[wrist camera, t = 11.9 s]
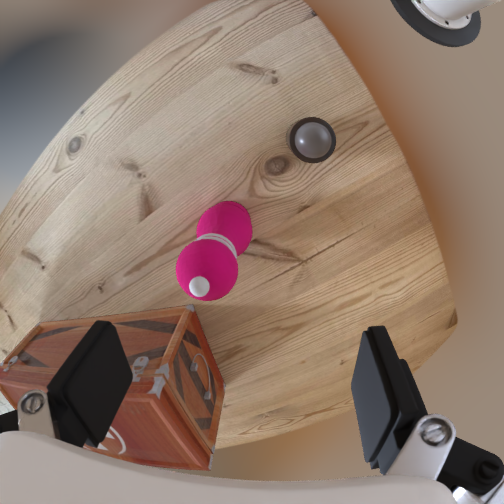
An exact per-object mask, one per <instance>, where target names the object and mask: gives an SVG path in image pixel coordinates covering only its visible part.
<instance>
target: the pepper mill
mask: <svg viewBox="0 0 504 504" xmlns="http://www.w3.org/2000/svg"><path fill="white" fill-rule="evenodd" d="M251 238H252V225H251V220H250V216H249V213H248V212H247V210H246V209H245V208H244V207H243V206H242V205H241V204H239V203H237V202H233V201H224V202H220V203H218V204H216V205H215V206H213V207H211V208H209V209H208V210H207V211H205V212H204V214H203V215H202V216H201V218H200V220H199V222H198V225H197V239H196V240H195V241H194V242H192V243H190V244H189V245H188V246H186V247H185V248H184V249H183V250H182V252H181V253H180V255H179V257H178V260H177V263H176V276H177V280H178V282H179V284H180V286H181V288H182V289H183V290H184V291H185V292H186V293H187V294H188V295H189V296H191V297H193V298H195V299H198V300H202V301H212V300H217V299H220V298H222V297H223V296H225V295H226V294H228V293H229V291H230V290H231V289H232V288H233V286H234V284H235V282H236V280H237V276H238V264H237V256H239V255H240V254H242V253H243V252H244V251H245V250H246V249H247V247H248V246H249V243H250V241H251Z"/></svg>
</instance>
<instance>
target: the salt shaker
mask: <svg viewBox="0 0 504 504" xmlns="http://www.w3.org/2000/svg"><path fill="white" fill-rule="evenodd" d="M286 142H287V145H288V147H289V149H290V150H291V151H292V152H293V153H294V154H295V156H296V157H298V158H299V159H300V160H302V161H304V162H307V163H319V162H322V161H324V160H326V159H327V158H329V157H330V155H331V154H332V153H333V151H334V149H335V145H336V137H335V133H334V131H333V129H332V127H331V126H330V125H329V124H328V123H327V122H326V121H324V120H322V119H320V118H316V117H308V118H304V119H301V120H299V121H297V122H295V123H293V124H292V125H291V126H290V127H289V129H288V131H287V133H286Z"/></svg>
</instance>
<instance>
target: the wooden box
mask: <svg viewBox="0 0 504 504" xmlns="http://www.w3.org/2000/svg"><path fill="white" fill-rule="evenodd" d="M97 320H103V321H110V322H111V323H112V324H113V325H114V326H115V327H116V329H117V332H118V335H119V338H120V341H121V344H122V347H123V349H124V352H125V355H126V357H127V360H128V363H129V365H130V368H131V370H132V373H133V380H132V383H131V385H130V387H129V389H128V391H127V393H126V395H125V397H124V399H123V401H122V403H121V405H120V407H119V409H118V411H117V413H116V416H115V418H114V420H113V422H112V424H111V426H110V428H109V430H108V432H107V435H106V437H105V439H104V441H103V442H101V443H99V445H98V448H94V447H91V446H88V445H86V444H84V446H83V449H87V450H90V451H93V452H96V453H99V454H102V455H106V456H109V457H112V458H116V459H120V460H123V461H127V462H131V463H135V464H139V465H146V466H155V467H163V468H174V469H186V470H206V471H210V470H211V465H212V459H213V456H212V454H214V449H215V442H216V437H217V431H218V426H219V420H220V415H221V409H222V404H223V399H224V393H225V387H226V386H225V383H224V381H223V378H222V376H221V374H220V371H219V369H218V367H217V364H216V362H215V359H214V357H213V355H212V352H211V350H210V347H209V345H208V342H207V340H206V337H205V335H204V332H203V330H202V327H201V325H200V322H199V319H198V317H197V314H196V312H195V309H194V306H193V304H191V305H184V306H177V307H170V308H163V309H155V310H148V311H140V312H132V313H124V314H116V315H108V316H99V317H90V318H81V319H71V320H61V321H50V322H39V323H38V324H37V325H36V326H35V327H34V328H33V329H32V330H31V331H30V332H29V333H28V334H27V335H26V336H25V338H24V339H23V340H22V341H21V342H20V343H19V344H18V345H17V346H16V347H15V348H14V350H13V351H12V352H11V353H10V354H9V355H8V356H7V357H6V359H5V360H4V361H3V362H2V363H1V364H0V391H1V392H2V394H3V395H4V396H5V398H6V399H7V400H8V401H9V403H10V404H11V405H12V406H13V408H14V409H15V410H16V409H17V406H18V401H19V399H20V398H21V396H22V395H23V394H25V393H26V392H28V391H30V390H34V389H38V390H42V391H44V392H45V393H47V392H48V390H47V388H46V387H47V385H48V384H49V382H50V381H51V380H52V378H53V377H54V375H55V374H56V373H57V371H58V370H59V368H60V367H61V366H62V364H63V363H64V362H65V360H66V359H67V358H68V356H69V355H70V354H71V352H72V351H73V350H74V348H75V347H76V346H77V344H78V343H79V342H80V340H81V339H82V338H83V337H84V335H85V334H86V333H87V331H88V330H89V329H90V328H91V326H92V325H93V324H94V323H95V321H97Z"/></svg>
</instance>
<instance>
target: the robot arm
mask: <svg viewBox="0 0 504 504" xmlns="http://www.w3.org/2000/svg"><path fill="white" fill-rule="evenodd" d="M411 1H412V3H413V4H414V5H415V6H416V8H417V9H418V10H419V11H420V12H421V13H422V14H423V15H424V16H425V17H426V18H428V19H429V20H430V21H432V22H433V23H435V24H437V25H439V26H441V27H443V28H446V29H451V30H457V29H460V28H463V27H465V26H466V25H467V24H468V23H469V22H470V19H471V13H473V12H475V11H478V10H480V9H482V8H484V7H487V6H489V5H491V4H494V3H496V2H499V1H501V0H411ZM132 380H133V373H132V370H131V368H130V365H129V363H128V360H127V357H126V355H125V352H124V349H123V347H122V344H121V341H120V338H119V335H118V332H117V329H116V327H115V326H114V325H113V324H112V323H111V322H110V321H103V320H97V321H95V323H94V324H93V325H92V326H91V328H90V329H89V330H88V331H87V333H86V334H85V335H84V337H83V338H82V339H81V340H80V342H79V343H78V344H77V346H76V347H75V348H74V350H73V351H72V352H71V354H70V355H69V356H68V358H67V359H66V360H65V362H64V363H63V364H62V366H61V367H60V368H59V370H58V371H57V373H56V374H55V375H54V377H53V378H52V380H51V381H50V382H49V384H48V385H47V387H46V388H47V390H48V392H47V393H45V392H44V391H42V390H38V389H34V390H30V391H28V392H26V393H25V394H23V395H22V396H21V398H20V399H19V401H18V406H17V409H16V410H14V411H11V412H8V413H5V414H2V415H0V504H504V465H503V462H502V460H501V459H500V458H499V457H498V456H496V455H495V454H493V453H490V452H488V451H486V450H484V449H481V448H479V447H477V446H475V445H472V444H470V443H468V442H466V441H464V440H462V439H459V438H457V437H455V435H456V431H455V426H454V425H453V423H452V422H451V421H450V420H449V419H448V418H446V417H445V416H443V415H439V414H429V415H428V413H427V410H426V408H425V405H424V403H423V400H422V398H421V395H420V393H419V390H418V388H417V385H416V383H415V380H414V378H413V376H412V373H411V371H410V368H409V366H408V364H407V362H406V360H404V359H399V358H398V355H397V353H396V351H395V348H394V346H393V344H392V341H391V339H390V337H389V335H388V332H387V330H386V328H385V326H371V327H368V330H367V331H363V333H362V338H361V343H360V348H359V352H358V357H357V361H356V365H355V370H354V374H353V378H352V382H351V389H352V395H353V399H354V404H355V409H356V414H357V419H358V424H359V430H360V434H361V440H362V446H363V452H364V458H365V461H366V462H370V465H371V469H376V468H380V473H381V474H383V475H382V476H367V477H356V478H345V479H332V480H316V481H315V480H313V481H254V480H236V479H225V478H215V477H207V476H199V475H192V474H185V473H179V472H173V471H168V470H162V469H157V468H153V467H148V466H144V465H139V464H135V463H131V462H127V461H123V460H120V459H116V458H112V457H109V456H106V455H102V454H99V453H96V452H93V451H90V450H87V449H83V446H84V444H86V445H88V446H91V447H94V448H98V445H99V443H101V442H103V441H104V439H105V437H106V435H107V432H108V430H109V428H110V426H111V424H112V422H113V420H114V418H115V416H116V413H117V411H118V409H119V407H120V405H121V403H122V401H123V399H124V397H125V395H126V393H127V391H128V389H129V387H130V385H131V383H132Z"/></svg>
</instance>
